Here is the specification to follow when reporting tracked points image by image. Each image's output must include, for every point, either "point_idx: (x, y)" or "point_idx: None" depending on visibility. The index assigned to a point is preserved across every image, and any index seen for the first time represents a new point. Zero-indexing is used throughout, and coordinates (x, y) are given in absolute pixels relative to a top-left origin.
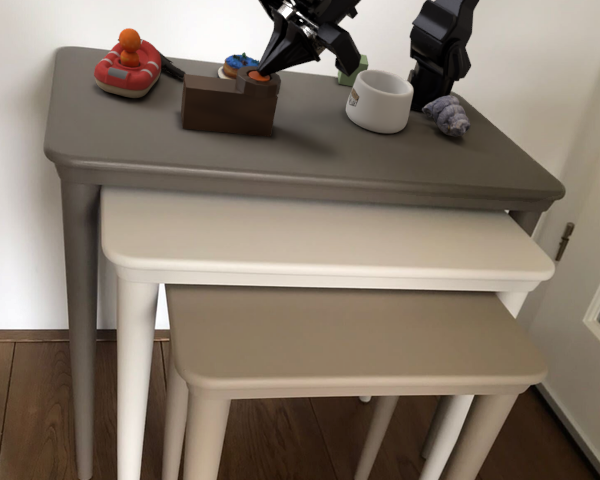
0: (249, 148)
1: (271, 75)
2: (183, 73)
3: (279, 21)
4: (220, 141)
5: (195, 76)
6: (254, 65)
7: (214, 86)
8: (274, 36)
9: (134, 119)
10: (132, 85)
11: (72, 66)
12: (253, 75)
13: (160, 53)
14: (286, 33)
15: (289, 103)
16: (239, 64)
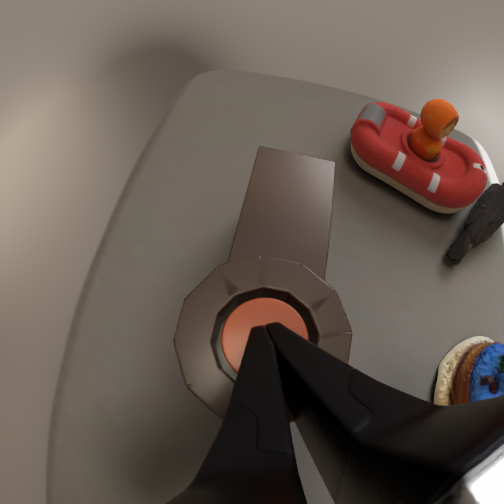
0: (163, 317)
1: None
2: (454, 254)
3: (442, 437)
4: (198, 263)
5: (325, 181)
6: None
7: (268, 209)
8: (375, 405)
9: (286, 144)
10: (354, 134)
11: None
12: (264, 313)
13: (490, 223)
14: (295, 479)
15: None
16: (483, 369)
